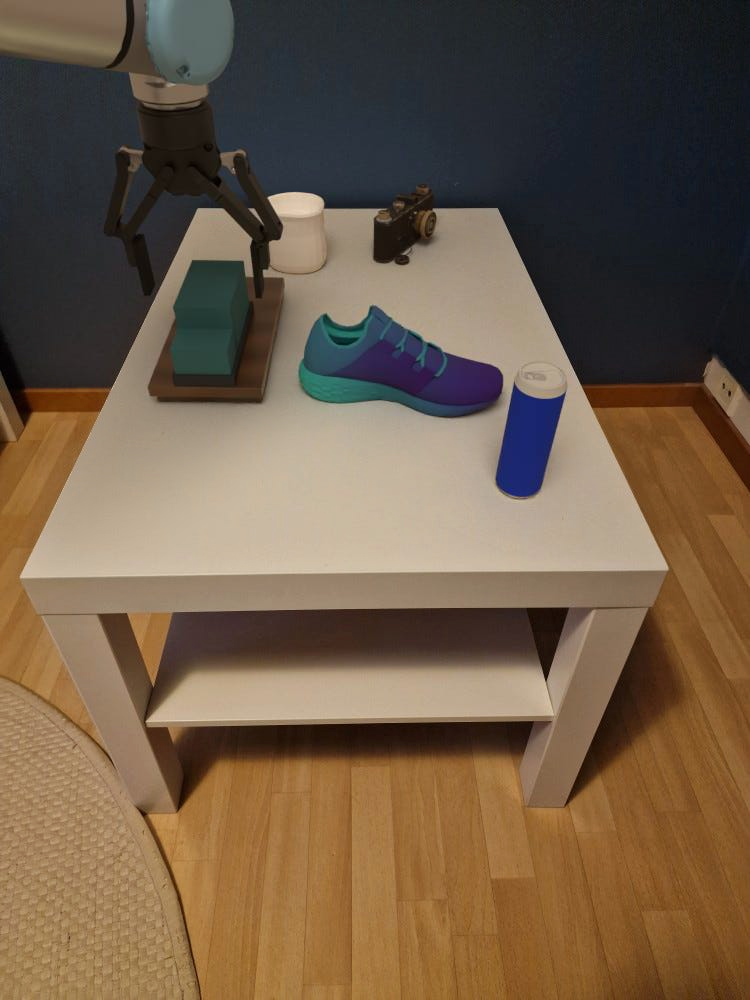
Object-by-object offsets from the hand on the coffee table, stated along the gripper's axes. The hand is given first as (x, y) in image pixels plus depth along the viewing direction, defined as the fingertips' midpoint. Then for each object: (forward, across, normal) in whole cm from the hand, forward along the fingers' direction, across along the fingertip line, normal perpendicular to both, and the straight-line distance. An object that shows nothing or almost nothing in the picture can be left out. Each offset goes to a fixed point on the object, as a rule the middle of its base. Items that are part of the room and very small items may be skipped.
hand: (205, 291), depth 85 cm
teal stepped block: (+8, 0, 0) cm, 8 cm away
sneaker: (+11, +24, -4) cm, 27 cm away
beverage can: (+11, +38, -22) cm, 45 cm away
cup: (+11, +8, +30) cm, 33 cm away
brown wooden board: (+11, 0, +5) cm, 12 cm away
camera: (+11, +27, +37) cm, 47 cm away
